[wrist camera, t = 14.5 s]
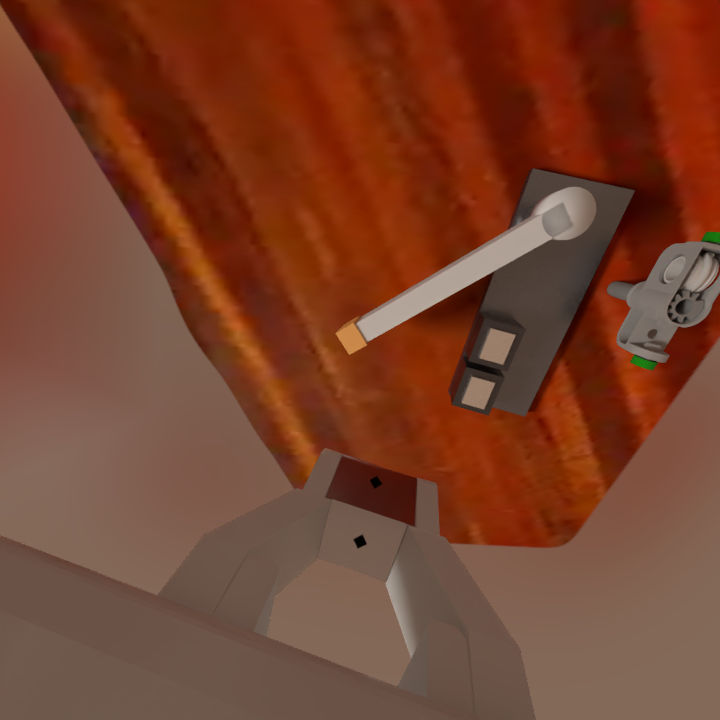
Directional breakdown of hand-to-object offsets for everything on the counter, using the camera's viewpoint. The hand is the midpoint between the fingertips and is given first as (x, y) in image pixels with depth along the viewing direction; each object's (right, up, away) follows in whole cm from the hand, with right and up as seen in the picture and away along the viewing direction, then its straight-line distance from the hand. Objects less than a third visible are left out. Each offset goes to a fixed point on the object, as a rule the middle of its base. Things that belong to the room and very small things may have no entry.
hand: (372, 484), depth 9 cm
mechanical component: (+26, +10, +25) cm, 37 cm away
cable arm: (+8, +11, +22) cm, 26 cm away
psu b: (+13, +1, +29) cm, 32 cm away
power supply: (+14, +6, +27) cm, 31 cm away
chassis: (+17, +9, +27) cm, 33 cm away
